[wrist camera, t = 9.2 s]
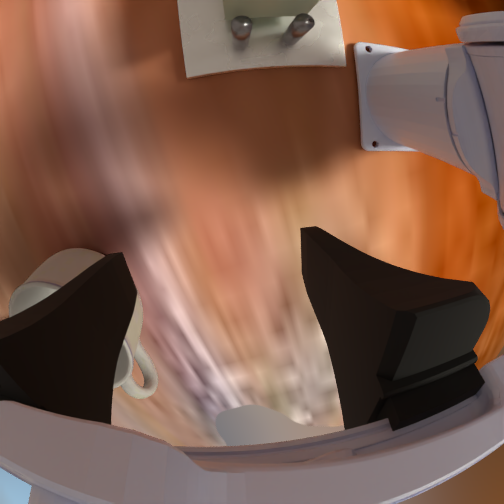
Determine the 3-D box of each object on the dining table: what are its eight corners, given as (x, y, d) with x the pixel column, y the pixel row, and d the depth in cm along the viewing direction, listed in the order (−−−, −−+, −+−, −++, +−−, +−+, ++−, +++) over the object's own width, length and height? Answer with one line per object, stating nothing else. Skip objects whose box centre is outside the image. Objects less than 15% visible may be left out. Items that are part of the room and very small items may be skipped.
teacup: (34, 260, 21) (-10, 313, 14) (105, 207, 19) (51, 262, 12) (117, 355, 27) (99, 414, 20) (196, 330, 26) (188, 402, 19)
